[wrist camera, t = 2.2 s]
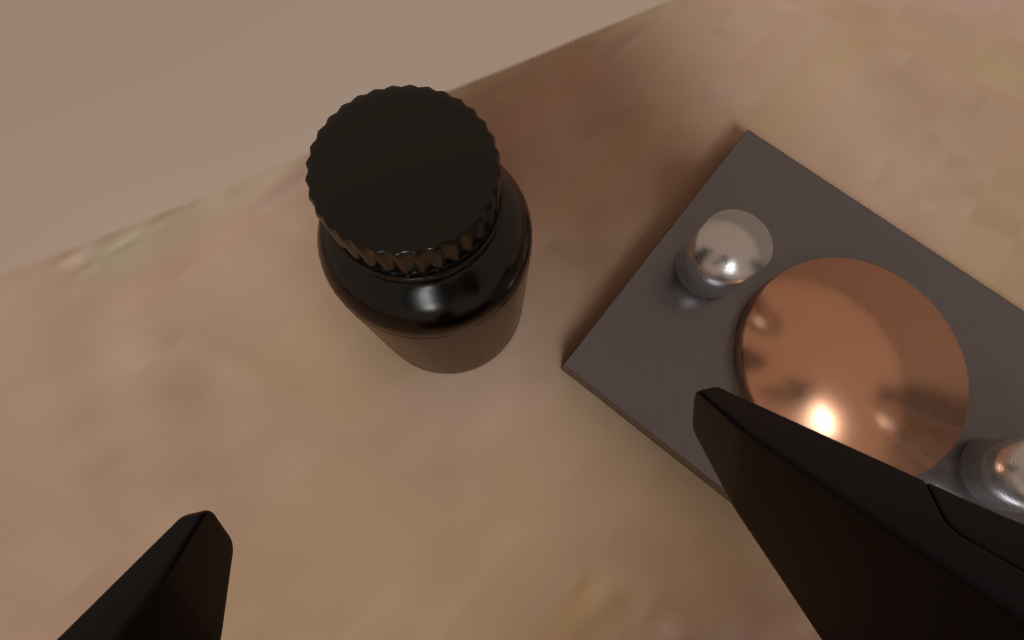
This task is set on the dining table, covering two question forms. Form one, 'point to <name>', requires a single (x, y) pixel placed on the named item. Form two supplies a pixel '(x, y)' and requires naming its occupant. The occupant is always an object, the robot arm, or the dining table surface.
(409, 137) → the supplement bottle
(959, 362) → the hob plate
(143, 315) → the dining table surface
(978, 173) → the dining table surface
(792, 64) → the dining table surface
